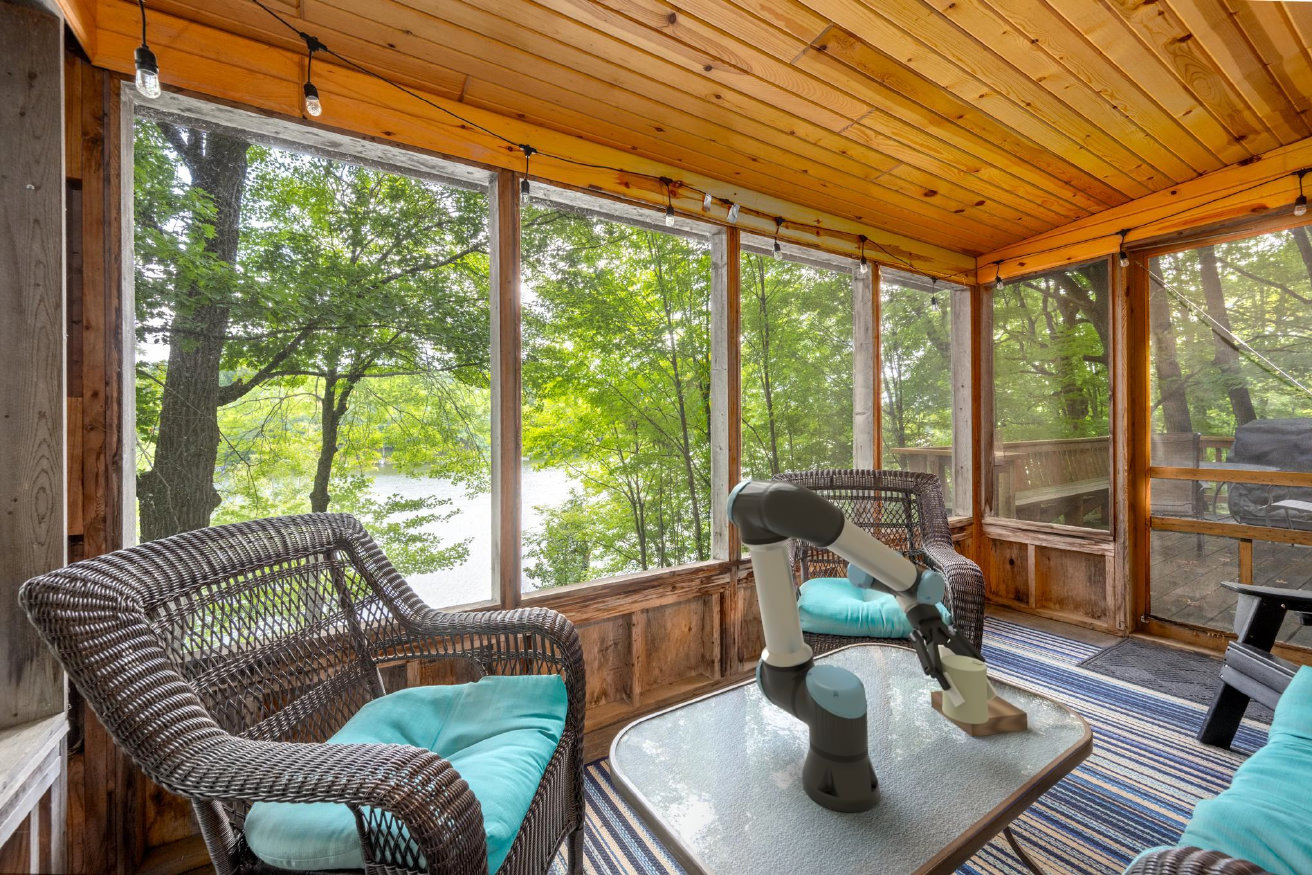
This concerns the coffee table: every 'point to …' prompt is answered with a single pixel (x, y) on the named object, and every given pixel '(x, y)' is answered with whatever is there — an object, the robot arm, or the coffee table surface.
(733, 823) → the coffee table surface
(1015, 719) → the plinth
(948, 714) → the can
